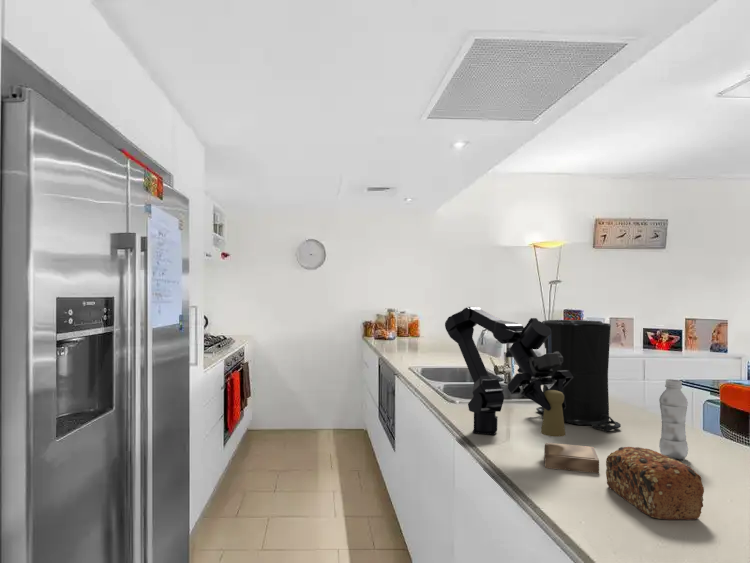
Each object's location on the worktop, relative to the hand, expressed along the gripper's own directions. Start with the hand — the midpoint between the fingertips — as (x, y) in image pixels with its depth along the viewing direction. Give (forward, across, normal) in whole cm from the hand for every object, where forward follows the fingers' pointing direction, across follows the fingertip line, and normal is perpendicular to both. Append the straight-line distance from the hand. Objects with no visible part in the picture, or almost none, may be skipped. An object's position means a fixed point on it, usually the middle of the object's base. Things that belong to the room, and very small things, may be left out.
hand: (557, 408), depth 139 cm
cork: (+4, 0, +6) cm, 7 cm away
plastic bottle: (+18, +28, 0) cm, 33 cm away
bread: (+30, -5, -12) cm, 33 cm away
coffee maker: (-13, +38, +31) cm, 51 cm away
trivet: (+12, 0, +6) cm, 13 cm away
